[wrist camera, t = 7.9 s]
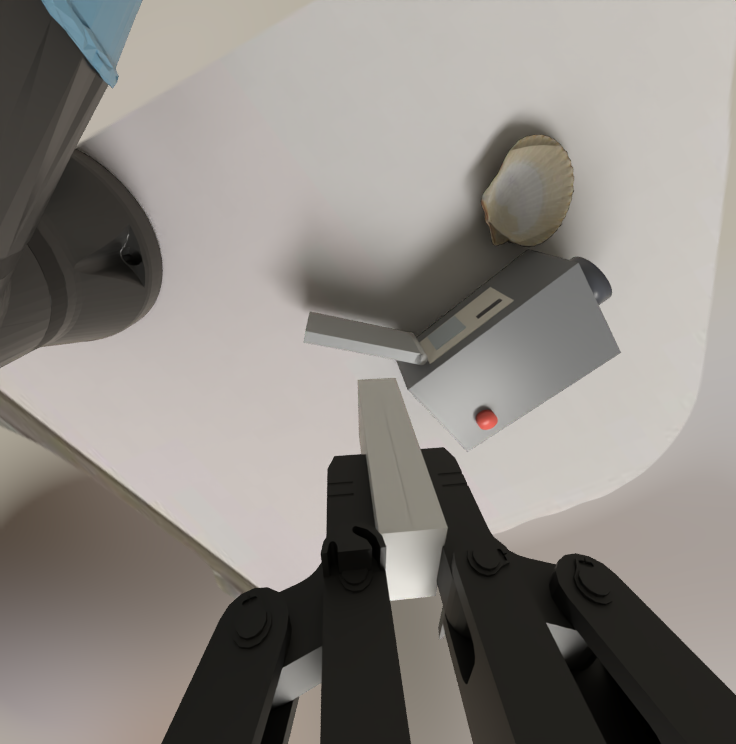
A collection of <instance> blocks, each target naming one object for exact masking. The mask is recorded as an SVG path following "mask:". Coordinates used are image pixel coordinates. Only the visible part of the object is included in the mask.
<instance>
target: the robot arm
mask: <svg viewBox="0 0 736 744" xmlns="http://www.w3.org/2000/svg"><path fill="white" fill-rule="evenodd" d="M141 3H142V0H0V368H1V367H3V366H5V365H7V364H9V363H10V362H12V361H14V360H16V359H18V358H20V357H22V356H24V355H26V354H27V353H29V352H31V351H33V350H35V349H37V348H39V347H45V346H54V345H62V344H70V343H77V342H85V341H93V340H99V339H103V338H106V337H109V336H112V335H115V334H117V333H119V332H121V331H123V330H125V329H126V328H128V327H129V326H131V325H133V324H134V323H136V322H137V321H139V320H140V319H141V318H143V317H144V316H145V315H146V314H147V313H148V312H149V310H150V309H151V308H152V306H153V305H154V303H155V301H156V299H157V297H158V295H159V292H160V288H161V283H162V272H163V269H162V258H161V253H160V248H159V245H158V241H157V238H156V236H155V233H154V231H153V229H152V226H151V224H150V222H149V220H148V219H147V217H146V215H145V213H144V212H143V210H142V209H141V207H140V206H139V204H138V203H137V202H136V200H135V199H134V197H133V196H132V195H131V194H130V193H129V191H128V190H127V189H126V188H125V187H124V186H123V185H122V184H121V183H120V182H119V181H118V180H117V179H116V178H115V177H114V176H113V175H112V174H111V173H110V172H109V171H107V170H106V169H105V168H104V167H102V166H101V165H100V164H99V163H97V162H96V161H94V160H93V159H92V158H90V157H89V156H87V155H85V154H84V153H82V152H81V151H79V150H77V149H75V147H76V145H77V144H78V142H79V139H80V138H81V136H82V134H83V132H84V130H85V128H86V126H87V125H88V123H89V120H90V119H91V117H92V115H93V113H94V111H95V109H96V107H97V106H98V104H99V102H100V100H101V98H102V96H103V94H104V92H105V90H106V88H107V87H108V85H110V86H111V87H112V88H113V87H114V86H115V84H116V83H117V80H118V77H119V76H118V74H117V71H116V66H117V63H118V61H119V58H120V55H121V53H122V50H123V48H124V45H125V42H126V40H127V37H128V34H129V32H130V29H131V27H132V24H133V22H134V19H135V17H136V14H137V12H138V10H139V7H140V5H141ZM358 412H359V439H360V447H361V454H359V455H345V456H334V458H333V460H332V462H331V464H330V466H329V467H328V476H327V535H326V539H325V540H324V542H323V546H322V550H321V560H322V562H321V564H320V565H319V567H318V568H317V570H316V571H315V572H314V573H313V574H312V575H311V576H310V577H308V578H307V579H305V580H303V581H302V582H300V583H298V584H296V585H294V586H292V587H290V588H287V589H285V590H283V591H281V592H277V591H275V590H272V589H270V588H267V587H266V588H254V589H252V590H250V591H247V592H245V593H243V594H241V595H240V596H239V597H238V598H237V599H235V600H234V601H233V602H232V603H231V604H230V605H229V606H228V608H227V609H226V611H225V612H224V614H223V616H222V617H221V618H220V620H219V622H218V625H217V627H216V629H215V631H214V633H213V635H212V637H211V639H210V641H209V644H208V646H207V648H206V650H205V652H204V654H203V657H202V658H201V661H200V663H199V665H198V667H197V669H196V671H195V673H194V675H193V678H192V680H191V682H190V684H189V686H188V688H187V690H186V693H185V695H184V697H183V699H182V701H181V703H180V705H179V708H178V710H177V712H176V714H175V716H174V718H173V720H172V722H171V724H170V726H169V729H168V731H167V733H166V735H165V737H164V739H163V741H162V743H161V744H288V741H289V737H290V733H291V729H292V724H293V720H294V716H295V712H296V708H297V704H298V699H299V696H300V695H302V694H303V693H305V692H307V691H308V690H310V689H312V688H313V687H315V686H317V685H318V684H320V683H322V688H321V737H320V744H411V741H410V734H409V728H408V721H407V714H406V707H405V700H404V693H403V686H402V680H401V673H400V666H399V659H398V653H397V646H396V638H395V632H394V624H393V618H392V611H391V604H390V601H392V600H401V599H410V598H419V597H428V596H435V595H436V590H437V585H438V588H439V592H440V596H441V600H442V603H443V608H442V612H441V618H440V622H439V627H438V628H439V638H440V639H442V638H444V634H445V635H446V639H447V643H448V647H449V651H450V655H451V658H452V663H453V666H454V670H455V674H456V678H457V682H458V686H459V690H460V694H461V698H462V702H463V705H464V709H465V713H466V717H467V721H468V725H469V729H470V733H471V737H472V741H473V744H736V695H735V694H734V693H733V692H732V691H731V690H730V689H729V688H728V687H727V686H726V685H725V684H724V683H723V682H722V681H721V680H720V679H719V678H718V677H717V676H716V675H715V674H714V673H713V672H712V671H711V670H710V669H709V668H708V667H707V666H706V665H705V664H704V663H703V662H702V661H701V660H700V659H699V658H698V657H697V656H696V655H695V654H694V653H693V652H692V651H691V650H690V649H689V648H688V647H687V646H686V645H685V644H684V643H683V642H682V641H681V639H680V638H679V637H677V635H676V634H675V633H673V631H671V630H670V628H669V627H667V625H666V624H665V623H664V622H663V621H661V619H660V618H659V617H658V616H657V615H656V614H655V613H654V612H653V611H652V610H651V609H650V608H649V607H648V606H646V604H645V603H644V602H643V601H642V600H641V599H640V598H639V597H638V596H637V595H636V594H635V593H634V592H633V591H632V590H631V589H630V588H629V587H628V586H627V585H626V584H625V583H624V582H623V581H622V580H621V579H620V578H619V577H618V576H617V575H616V574H615V573H613V572H612V571H611V570H610V569H609V568H607V567H606V566H605V565H604V564H603V563H600V562H599V561H596V560H595V559H593V558H591V557H589V556H585V555H580V554H576V553H575V554H569V555H565V556H563V557H562V558H561V559H560V560H559V561H558V562H557V564H551V563H546V562H543V561H538V560H534V559H529V558H525V557H522V556H519V555H517V554H515V553H513V552H511V551H509V550H508V549H507V548H506V547H505V546H504V545H503V544H502V543H501V542H499V541H498V540H497V539H496V538H494V537H493V535H492V534H491V532H490V530H489V529H488V527H487V524H486V522H485V520H484V518H483V516H482V514H481V512H480V510H479V507H478V505H477V503H476V501H475V499H474V497H473V495H472V493H471V490H470V488H469V486H467V482H466V480H465V478H464V476H463V474H462V471H461V469H460V467H459V465H458V463H457V461H456V459H455V457H453V456H452V455H451V454H450V453H449V452H448V451H447V450H446V449H445V448H444V447H442V448H428V449H420V447H419V444H418V441H417V438H416V435H415V432H414V430H413V427H412V424H411V421H410V418H409V415H408V412H407V409H406V407H405V404H404V401H403V398H402V395H401V392H400V389H399V387H398V384H397V381H396V378H385V379H366V380H358Z"/></svg>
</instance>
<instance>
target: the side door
mask: <svg viewBox="0 0 736 744" xmlns="http://www.w3.org/2000/svg"><path fill="white" fill-rule="evenodd" d="M304 343H309V344H314V345H319V346H324V347H330V348H335V349H340V350H346V351H351V352H356V353H361V354H367V355H372V356H377V357H382V358H388V359H393V360H398V361H403V362H409V363H414V364H418V365H424V364H425V363H426V362H427V361H428V357H427V355H426V353H425V352H424V350H423V348H422V347H421V345H420V343H419V342H418V340H417V338H416V337H415V335H414V333H412V332H405V331H400V330H396V329H391V328H386V327H381V326H377V325H372V324H367V323H362V322H358V321H353V320H348V319H343V318H339V317H334V316H329V315H324V314H319V313H315V312H309V317H308V322H307V326H306V331H305V337H304Z"/></svg>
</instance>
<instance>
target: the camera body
mask: <svg viewBox="0 0 736 744" xmlns="http://www.w3.org/2000/svg"><path fill="white" fill-rule="evenodd" d="M611 295H612V289H611V286H610V283H609V281H608V280H607V278H606V277H605V275H604V274H603V273H602V272H601V270H600V269H599V268H598V267H596V266H595V265H594V264H593V263H591V262H590V261H588V260H586V259H584V258H582V257H573V258H572V259H570V260H566V259H563V258H559V257H555V256H551V255H548V254H544V253H540V252H536V251H532V250H529V249H528V250H527V251H526V252H524V253H523V254H522V255H521V256H519V257H518V258H517V259H515V260H514V261H513V262H512V263H510V264H509V265H508V266H507V267H505V268H504V269H503V270H502V271H500V272H499V273H498V274H496V275H495V276H494V277H493V278H491V279H490V280H489V281H488V282H486V283H485V284H484V285H483V286H481V287H480V288H479V289H477V290H476V291H475V292H474V293H472V294H471V295H470V296H469V297H467V298H466V299H465V300H464V301H462V302H461V303H460V304H458V305H457V306H456V307H455V308H453V309H452V310H451V311H450V312H448V313H447V314H446V315H445V316H443V317H442V318H441V319H439V320H438V321H437V322H436V323H434V324H433V325H432V326H431V327H429V328H428V329H427V330H426V331H424V332H423V333H422V334H420V335H419V336H418V337H417V340H418V342H419V343H420V345H421V347H422V348H423V350H424V352H425V353H426V355H427V357H428V361H427V362H426V363H425V364H424V365H418V364H414V363H409V362H403V361H398V360H396V361H397V363H398V366H399V369H400V371H401V374H402V376H403V379H404V381H405V384H406V387H407V389H408V391H409V392H410V393H411V394H412V395H413V396H414V397H415V398H416V399H417V400H418V401H419V402H420V403H421V404H422V405H423V406H424V407H425V408H426V409H427V411H428V412H429V413H430V414H431V415H432V416H433V417H434V418H435V419H436V420H437V421H438V422H439V423H440V424H441V425H442V426H443V427H444V428H445V429H446V430H447V431H448V432H449V433H450V435H451V436H452V437H453V438H454V439H455V440H456V441H457V442H458V443H459V444H460V445H461V446H462V447H463V448H464V449H465V450H466V451H467V452H468V451H470V450H471V449H473V448H475V447H476V446H478V445H479V444H481V443H482V442H484V441H485V440H487V439H488V438H490V437H491V436H493V435H495V434H496V433H498V432H499V431H501V430H502V429H504V428H505V427H507V426H508V425H510V424H512V423H513V422H515V421H516V420H518V419H519V418H521V417H522V416H524V415H525V414H527V413H529V412H530V411H532V410H533V409H535V408H536V407H538V406H539V405H541V404H542V403H544V402H546V401H547V400H549V399H550V398H552V397H553V396H555V395H556V394H558V393H559V392H561V391H563V390H564V389H566V388H567V387H569V386H570V385H572V384H573V383H575V382H576V381H578V380H580V379H581V378H583V377H584V376H586V375H587V374H589V373H590V372H592V371H593V370H595V369H597V368H598V367H600V366H601V365H603V364H604V363H606V362H607V361H609V360H610V359H612V358H614V357H615V356H617V355H618V354H620V353H621V352H620V350H619V348H618V345H617V343H616V341H615V339H614V337H613V335H612V333H611V331H610V328H609V326H608V324H607V322H606V320H605V318H604V316H603V314H602V311H601V309H600V307H599V305H600V304H601V303H603V302H604V301H606V300H607V299H608V298H610V297H611Z"/></svg>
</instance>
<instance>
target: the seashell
mask: <svg viewBox="0 0 736 744" xmlns="http://www.w3.org/2000/svg"><path fill="white" fill-rule="evenodd" d="M573 182H574V176H573V167H572V166H571V160H570V158H569V157H568V154H567V151H565V150H564V149H563V147H562V146H561V144H560V143H558V142H557V141H556V140H555V139H553V138H551V137H548V136H545V135H541V134H540V135H532V136H526V137H524V138H523V139H520V140H518V142H517V143H516V144H515V145H514V146H513V147H512V148H511V149H510V151H509V152H508V154H507V156H506V158H505V159H504V161H503V163H502V165H501V167H500V170H499V172H498V174H497V175H496V177H495V178H494V179H493V181H492V182H491V184H490V186H489V187H488V188H487V189H486V191H485V192H484V194H483V196H482V199H481V205H482V208H483V210H484V212H485V221H486V223H487V224H488V225H489V228H490V233H491V238H492V243H493V245H494V246H497V245H501V244H504V243H505V242H510V243H516V244H519V245H522V246H524V247H532V246H536V245H538V244H541V243H543V242H545V241H546V240H547V239H548V238H550V237H551V236H552V235H553V234H554V233H555V232H556V231H557V229H558V227H560V226H561V224H562V221H563V219H564V218H565V216H566V213H567V211H568V209H569V205H570V202H571V200H572V193H573V192H574V188H573Z"/></svg>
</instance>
